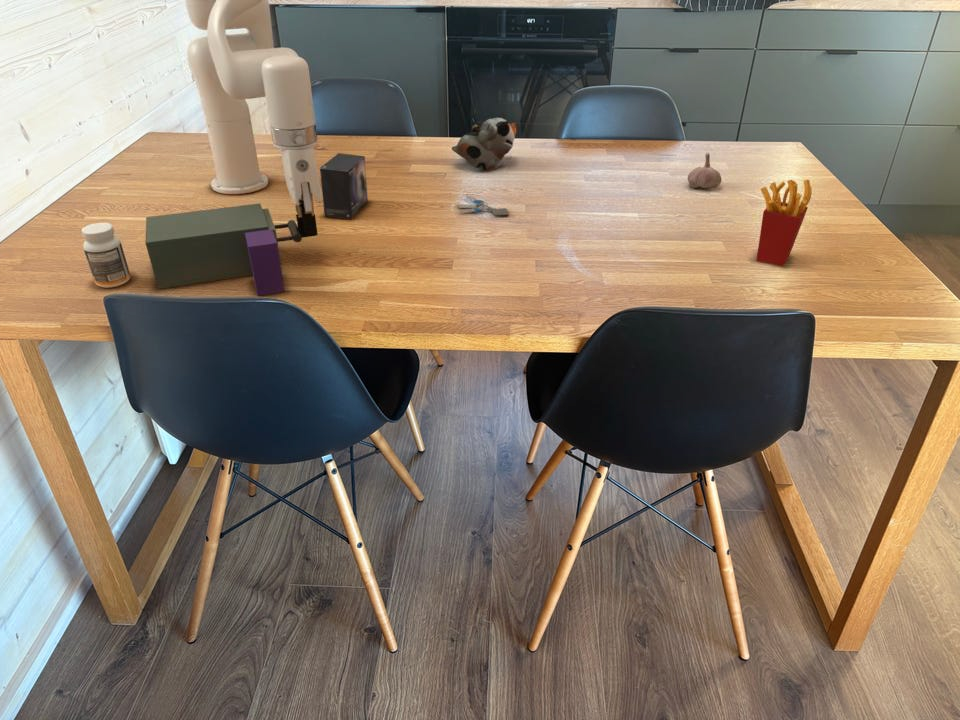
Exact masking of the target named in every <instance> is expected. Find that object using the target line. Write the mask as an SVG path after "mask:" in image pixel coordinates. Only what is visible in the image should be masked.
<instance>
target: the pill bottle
mask: <svg viewBox="0 0 960 720" xmlns="http://www.w3.org/2000/svg"><path fill="white" fill-rule="evenodd" d="M81 234H82V237H83V239H84V242H83V244H82V248H83V251H84V255H85V259H86V261H87V264H88V266H89V269H90V272H91V276H92V278H93V281H94V283H95V285H97V286H98V287H101V288H117V287H119V286H122V285H124V284H126V283H128V282H129V281H130V279H131V272H130V269H129V265H128V262H127V258H126V256H125V255H126V254H125V252H124V248H123V245H122V241H121V240H120V238H119V237H118V236H116V235H115V229H114V226H113V224H111V223H109V222H95V223H91V224H88V225H86V226H84V227H82V228H81Z"/></svg>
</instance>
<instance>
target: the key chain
mask: <svg viewBox="0 0 960 720" xmlns="http://www.w3.org/2000/svg"><path fill="white" fill-rule="evenodd" d="M465 196H466V197H468V198H470V199H471V200H473V201H472V202H473V203H474V204H460V205H458V208H459V212H480V211H489V212H492V214H493V216H506V215H509V214H510V211H508V209H507V208H505V207H503V208H502V207H501V208H495V207H491V206H489V203H487V201H484V200H482V199H477V198H474V197H472V196H471V195H469V194H465ZM485 203H486V205H480V206H479V207H478V205H479V204H485Z"/></svg>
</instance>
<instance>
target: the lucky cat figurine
mask: <svg viewBox="0 0 960 720" xmlns="http://www.w3.org/2000/svg"><path fill="white" fill-rule="evenodd" d="M516 135H517V122H512V123H510V121H509V120H507V119H504V118H502V117H494V118H489V119H487V120H485V121H484V122H482V124H481V126H480V127H479V126H478V125H477V124H476V123H475V124H473V125H472V127H471V131H470V132H469V133H466V134H464V135H463V136H461V137H460V139H458V140H459V141H457V144H456V145H455V146H454V145H453V146H452V147H451V150H452V151H453V152H454V153H455V154H457V155H458V156H460V157H461V158H463V160H465V161H466V162H467V163H469V165H472V166H473V167H476V168H482V170H483V171H485V172H487V171H491V170H495V169H497V168H500V167H501V166H502V164H503V159H504V157H505V156H506V155H507V154H508V153H509V152H510V151H511V150H512V148H513V147H514V146H513V145H514V142H515V138H516Z"/></svg>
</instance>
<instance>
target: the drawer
mask: <svg viewBox="0 0 960 720" xmlns="http://www.w3.org/2000/svg"><path fill="white" fill-rule="evenodd" d="M262 210H263V213H264V216H265V219H266V222H267V225H268V229H269V230H270V229H272V230H273V233H274V236H275V239H276V242H277V247H278V253H279V259H280V265H281V266H282V260H281V253H280V248H279V247H280V246H279V243H281V242H289V241H293V242H294V243H300V242H301V241H302V240H303V238H302V237H301V234H300V232H299V229H298V226H297V221H295V220H293V219H290V220H288V221H287V223H280V224H275V223H274V221H273V218H272V215H271V212H270V210H269V208H268V207H267V208H262ZM287 228H288V231H289V233H290V235H288V236H281V237H278V235H277V230H279V229H287Z"/></svg>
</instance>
